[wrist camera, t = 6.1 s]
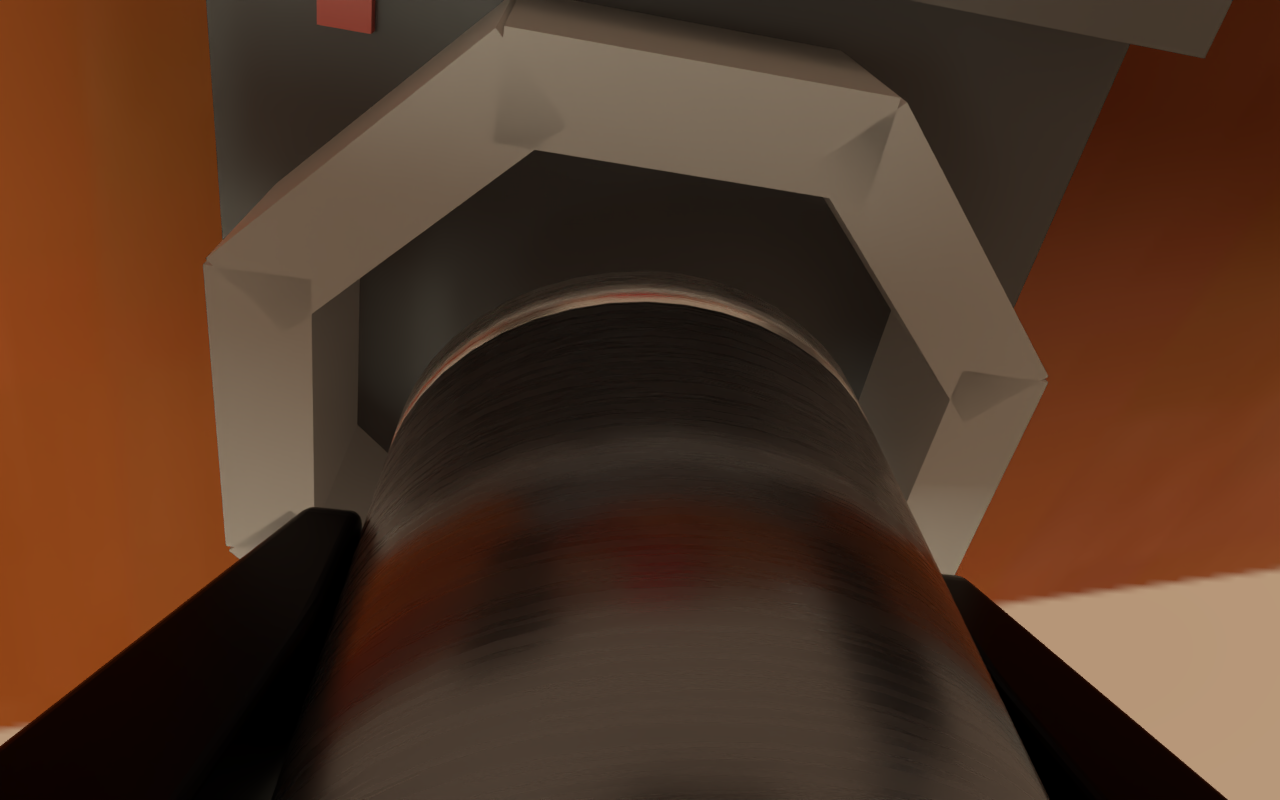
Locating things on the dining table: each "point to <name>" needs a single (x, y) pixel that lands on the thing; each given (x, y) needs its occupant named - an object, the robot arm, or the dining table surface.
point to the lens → (645, 577)
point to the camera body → (644, 203)
